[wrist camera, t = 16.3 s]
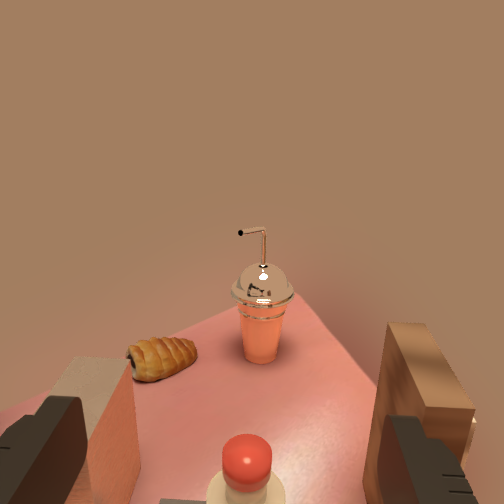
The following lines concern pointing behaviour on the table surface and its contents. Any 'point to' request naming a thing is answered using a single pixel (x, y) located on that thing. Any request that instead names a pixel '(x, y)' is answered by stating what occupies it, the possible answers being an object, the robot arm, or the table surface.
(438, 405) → the stand
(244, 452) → the sauce bottle
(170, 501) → the slate tray
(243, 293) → the cup with straw
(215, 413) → the table surface
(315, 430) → the table surface
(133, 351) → the pastry
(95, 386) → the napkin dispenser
